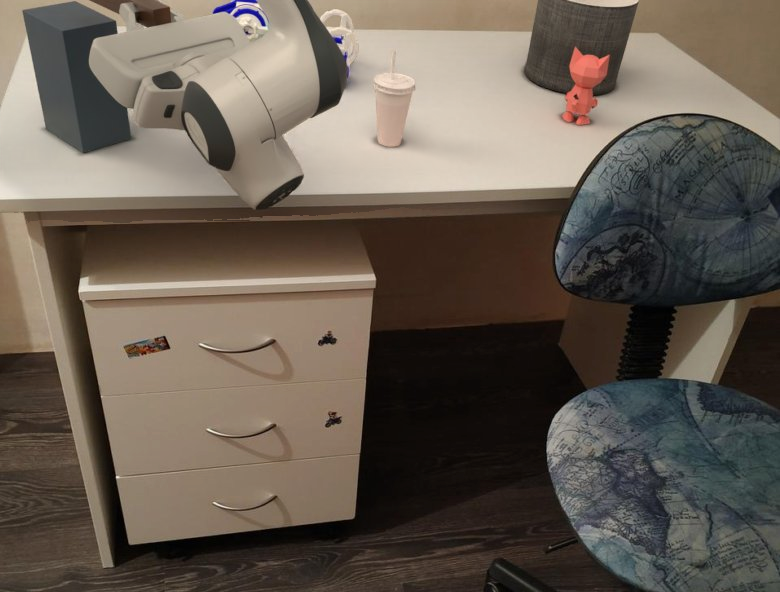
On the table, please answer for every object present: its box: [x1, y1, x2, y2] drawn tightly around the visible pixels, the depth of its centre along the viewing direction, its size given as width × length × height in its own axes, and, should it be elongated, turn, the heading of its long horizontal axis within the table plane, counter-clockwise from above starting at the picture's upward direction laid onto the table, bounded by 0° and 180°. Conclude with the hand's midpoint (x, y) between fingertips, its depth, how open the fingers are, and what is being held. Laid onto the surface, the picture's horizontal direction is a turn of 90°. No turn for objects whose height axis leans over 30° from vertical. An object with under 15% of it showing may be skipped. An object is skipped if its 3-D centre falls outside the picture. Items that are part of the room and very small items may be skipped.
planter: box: [523, 0, 640, 96], centre depth 151 cm, size 18×18×16 cm
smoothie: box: [372, 49, 416, 148], centre depth 122 cm, size 6×6×14 cm
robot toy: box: [212, 0, 360, 79], centre depth 141 cm, size 16×12×25 cm
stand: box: [21, 0, 132, 154], centre depth 114 cm, size 8×10×17 cm
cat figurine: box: [561, 46, 610, 126], centre depth 136 cm, size 7×7×12 cm
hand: (138, 4), depth 97 cm, fingers closed on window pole, 2 cm apart
